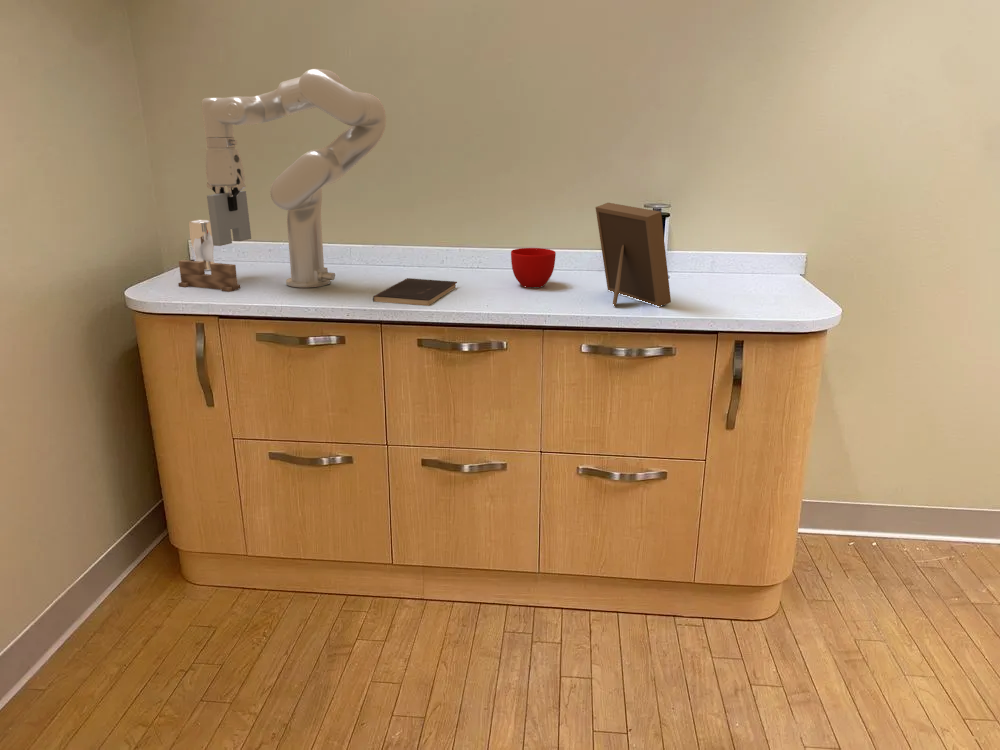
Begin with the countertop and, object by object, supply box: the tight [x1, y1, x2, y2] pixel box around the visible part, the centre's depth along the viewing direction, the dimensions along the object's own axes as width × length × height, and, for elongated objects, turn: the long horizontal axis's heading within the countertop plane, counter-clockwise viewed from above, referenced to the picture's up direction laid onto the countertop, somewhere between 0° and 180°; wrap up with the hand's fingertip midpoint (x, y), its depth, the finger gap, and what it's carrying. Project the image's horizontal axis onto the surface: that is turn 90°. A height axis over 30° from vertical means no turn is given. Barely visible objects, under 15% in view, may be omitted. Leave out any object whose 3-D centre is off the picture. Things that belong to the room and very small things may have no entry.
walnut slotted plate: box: [178, 259, 242, 293], centre depth 216 cm, size 18×5×7 cm, turn 70°
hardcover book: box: [372, 277, 458, 307], centre depth 212 cm, size 16×23×2 cm
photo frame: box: [594, 202, 672, 307], centre depth 203 cm, size 15×22×25 cm
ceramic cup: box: [510, 247, 557, 288], centre depth 224 cm, size 13×17×10 cm
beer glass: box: [188, 219, 216, 272], centre depth 240 cm, size 7×7×15 cm
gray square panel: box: [206, 190, 252, 247], centre depth 221 cm, size 2×14×14 cm, turn 160°
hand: (228, 210), depth 220 cm, fingers closed on gray square panel, 2 cm apart
